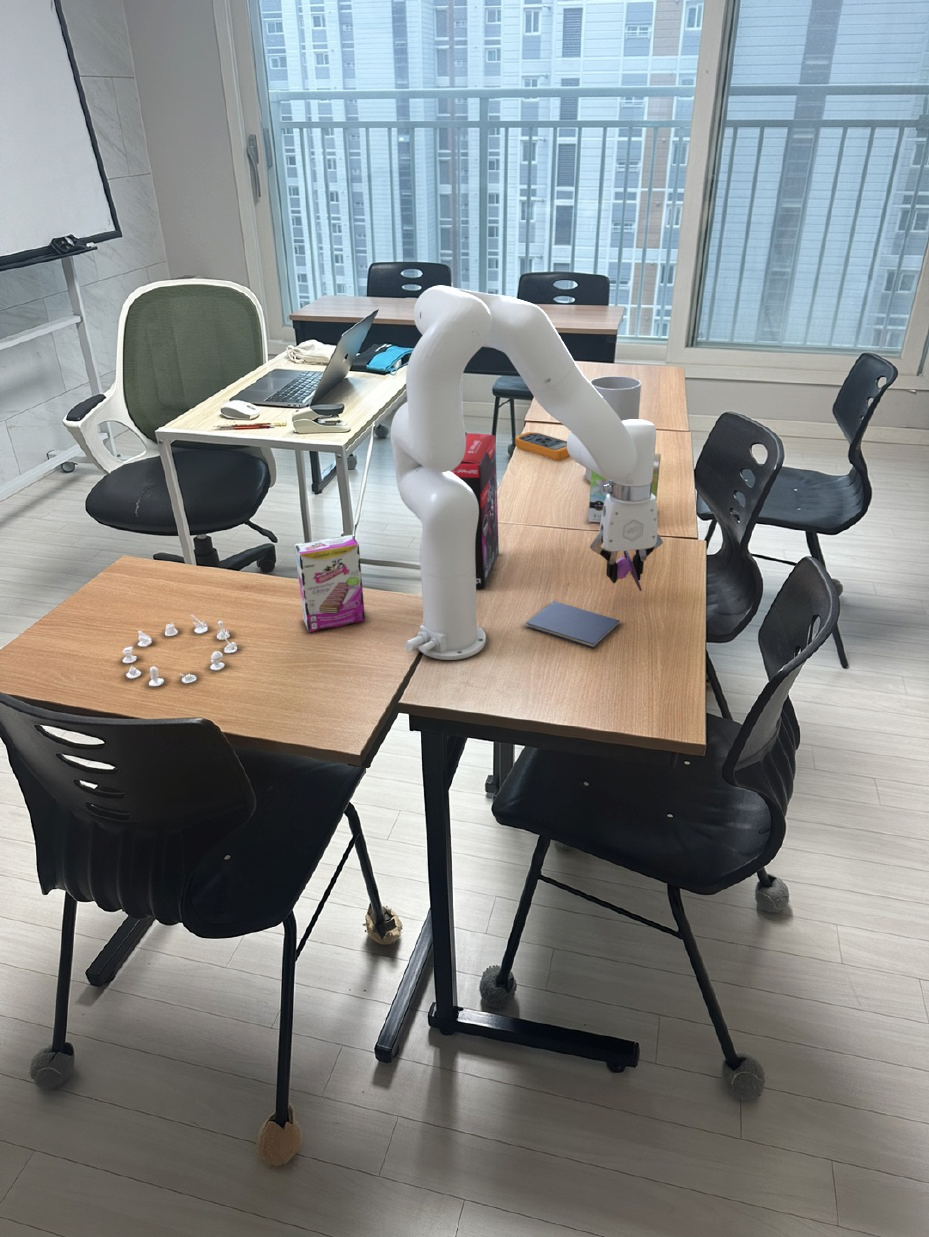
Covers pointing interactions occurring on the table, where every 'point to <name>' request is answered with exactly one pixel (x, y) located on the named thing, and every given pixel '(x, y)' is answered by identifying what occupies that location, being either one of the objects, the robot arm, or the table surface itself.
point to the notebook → (573, 624)
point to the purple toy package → (626, 568)
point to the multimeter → (543, 445)
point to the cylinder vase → (619, 397)
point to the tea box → (599, 496)
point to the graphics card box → (482, 499)
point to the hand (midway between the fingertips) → (624, 577)
